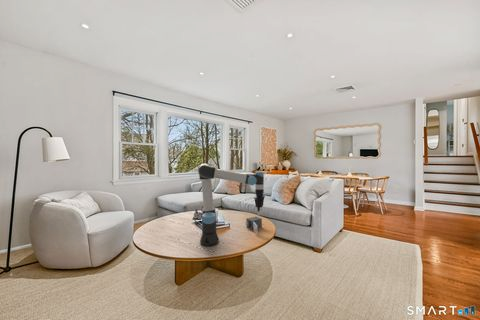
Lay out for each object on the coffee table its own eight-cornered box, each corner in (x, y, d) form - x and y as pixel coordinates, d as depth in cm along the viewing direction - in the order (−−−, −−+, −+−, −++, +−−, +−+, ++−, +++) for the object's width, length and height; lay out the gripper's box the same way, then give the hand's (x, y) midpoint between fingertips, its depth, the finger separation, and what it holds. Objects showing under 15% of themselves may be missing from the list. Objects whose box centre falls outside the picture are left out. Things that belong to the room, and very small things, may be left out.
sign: (212, 224, 227) (217, 206, 227) (212, 225, 224) (217, 207, 223) (192, 218, 225) (198, 201, 225) (192, 219, 222) (197, 201, 222)
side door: (251, 230, 198) (251, 221, 198) (253, 230, 199) (253, 221, 198) (255, 235, 186) (255, 225, 186) (257, 235, 186) (257, 225, 186)
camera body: (250, 230, 197) (250, 220, 197) (244, 228, 204) (244, 218, 204) (261, 227, 205) (261, 217, 205) (255, 225, 213) (255, 215, 212)
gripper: (258, 190, 183) (257, 216, 184) (267, 188, 192) (267, 213, 193) (251, 189, 188) (251, 215, 189) (260, 187, 198) (260, 212, 198)
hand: (259, 214), depth 191 cm, fingers closed
